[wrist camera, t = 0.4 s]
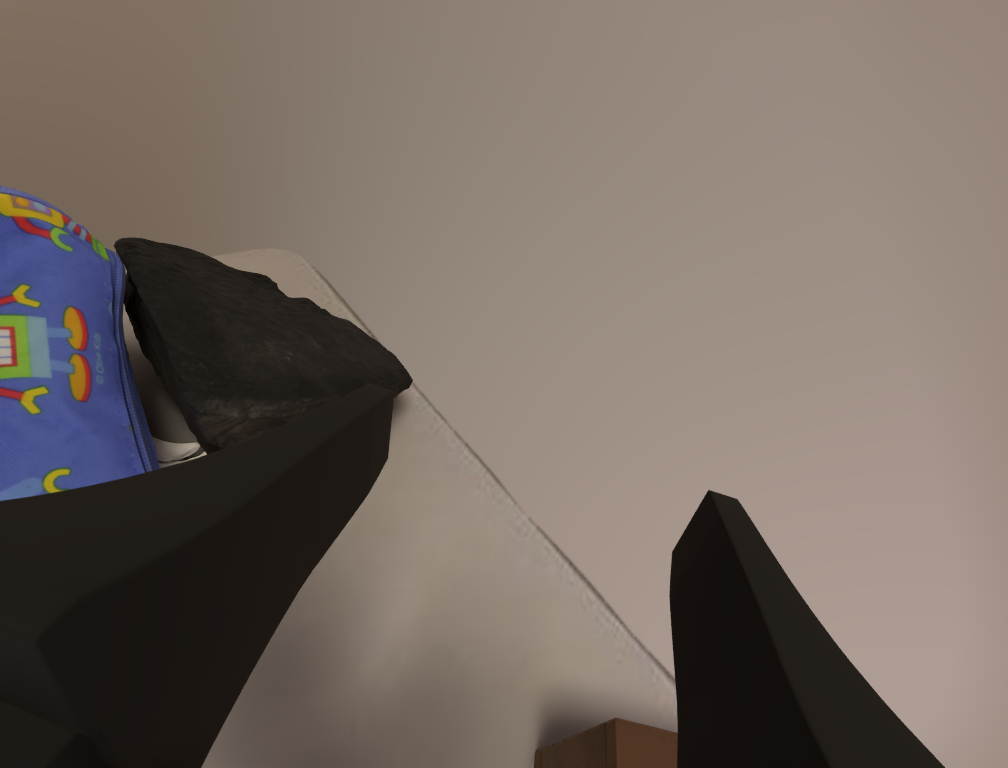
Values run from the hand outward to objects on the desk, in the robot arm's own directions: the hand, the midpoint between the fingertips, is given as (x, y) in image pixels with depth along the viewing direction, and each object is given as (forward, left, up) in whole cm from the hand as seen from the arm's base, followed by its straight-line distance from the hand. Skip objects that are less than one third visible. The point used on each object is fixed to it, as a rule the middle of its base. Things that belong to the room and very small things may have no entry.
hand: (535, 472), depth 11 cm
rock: (+14, +19, -18) cm, 30 cm away
